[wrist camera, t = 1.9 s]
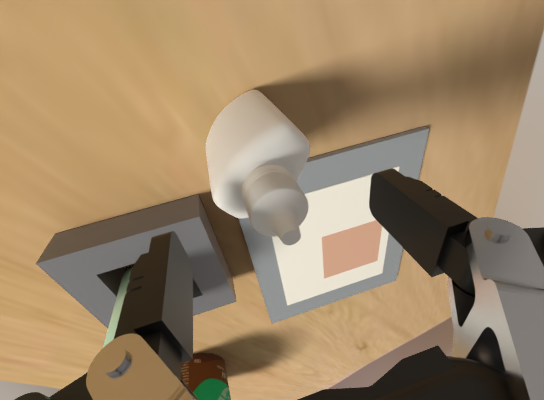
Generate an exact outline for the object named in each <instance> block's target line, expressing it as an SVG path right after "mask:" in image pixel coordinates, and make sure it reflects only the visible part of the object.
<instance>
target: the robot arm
mask: <svg viewBox="0 0 544 400" xmlns="http://www.w3.org/2000/svg"><path fill="white" fill-rule="evenodd" d="M369 208H370V211H371V214H372V215H373V217H374V218H375V219H376V220H377V221H378V222H379V223H380V224H381V225H382V226H383V227H384V228H385V230H386V231H387V232H388V233H389V234H390V235H391V236H392V237H393V238H394V239H395V240H396V241H397V242H398V243H399V244H400V245H401V246H402V247H403V248H404V249H405V250H406V251H407V252H408V253H409V254H410V255H411V256H412V257H413V258H414V259H415V260H416V261H417V263H418V264H419V265H420V266H421V267H422V268H423V269H424V270H425V271H426V272H427V273H428V274H429V275H430V276H431V277H433V276H436V275H439V274H442V273H445V274H447V275H448V276H449V278H448V281H447V285H448V292H449V300H450V307H451V314H452V322H453V329H454V340H453V345H452V357H450V356H446V355H445V354H444V353H443V352H442V350H441V349H440V347H439V346H435V347H433V348H430V349H427V350H425V351H423V352H420V353H417V354H415V355H412V356H409V357H407V358H404V359H402V360H401V361H400V362H399V363H397V364H396V365H395V366H394V367H393V368H392V369H391V370H389V371H388V372H387V373H386V374H385V375H384V376H383V377H381V378H380V379H379V380H378V381H377V382H376V383H374V384H373V385H372V386H370V387H364V388H345V389H325V390H321V391H319V392H316V393H314V394H311V395H308V396H306V397H303V398H301V399H298V400H544V228H526V229H522V228H520V227H519V226H517V225H515V224H513V223H511V222H508V221H506V220H502V219H498V218H490V217H483V218H477V217H475V216H474V215H472V214H471V213H469V212H467V211H466V210H464V209H463V208H461V207H460V206H458V205H457V204H455V203H454V202H452V201H451V200H449V199H448V198H446V197H445V196H441V194H440V193H439V192H437V191H436V190H432V188H431V187H429V186H428V185H426V184H425V183H423V182H422V181H419V180H416V179H414V178H411V177H408V176H407V177H405V176H404V175H402V174H401V173H400V172H398V171H397V170H395V169H393V168H391V169H387V170H384V171H380V172H377V173H374V174H373V175H372V177H371V185H370V198H369ZM126 292H127V294H125V297H124V301H123V305H122V309H121V313H120V317H119V321H118V324H117V328H116V332H115V336H114V339H113V340H112V341H111V342H109V343H108V344H107V345H106V346H105V347H104V348H103V349H102V350H101V351H100V352H99V353H98V354H97V355H96V357H95V358H94V360H93V361H92V363H91V365H90V367H89V370H88V372H87V373H86V374H84V375H83V376H82V377H80V378H78V379H77V380H75V381H74V382H72V383H71V384H69V385H68V386H66V387H65V388H63V389H61V390H60V391H58V392H57V393H55V394H54V395H52V396H51V397H47V396H45V395H43V394H41V393H37V392H34V393H28V394H25V395H23V396H20V397H18V398H17V399H15V400H199V399H198V398H197V397H196V395H195V394H194V393H193V392H192V391H191V390H190V388H189V387H188V386H187V385H186V384H185V383H184V381H183V380H182V379H181V364H182V363H184V362H187V361H190V360H193V270H192V265H191V262H190V259H189V257H188V255H187V253H186V251H185V249H184V247H183V246H182V244H181V242H180V240H179V238H178V236H177V234H176V233H175V232H174V231H171V232H167V233H164V234H161V235H157V236H154V237H152V238H151V242H150V247H149V252H148V253H145V254H141V255H140V257H139V258H138V260H137V261H136V263H135V264H134V265H133V267H132V270H131V274H130V278H129V283H128V286H127V289H126Z"/></svg>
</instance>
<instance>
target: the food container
mask: <svg viewBox="0 0 544 400" xmlns="http://www.w3.org/2000/svg"><path fill="white" fill-rule="evenodd" d="M181 379H182V380H183V381H184V383H185V384H186V385H187V386H188V387H189V388H190V390H191V391H192V392H193V393H194V394H195V395H196V397H197V398H198V399H199V400H231V398H230V392H229V386H228V380H227V375H226V369H225V363H224V360H223V359H222V358H221V357H220V356H217V355H214V354H206V353H201V354H193V360H190V361H187V362H184V363H182V364H181Z"/></svg>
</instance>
